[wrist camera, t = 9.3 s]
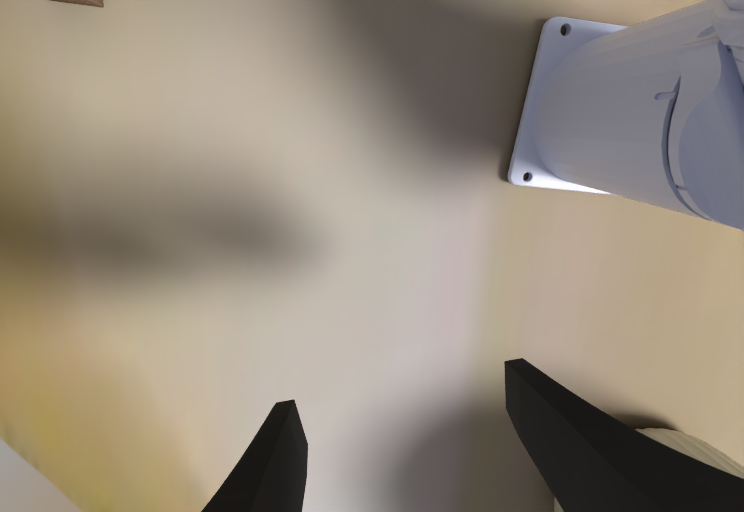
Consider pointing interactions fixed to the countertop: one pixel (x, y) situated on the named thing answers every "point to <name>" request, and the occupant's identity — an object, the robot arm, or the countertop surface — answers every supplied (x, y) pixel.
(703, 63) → the robot arm
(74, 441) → the countertop surface
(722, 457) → the canister
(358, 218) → the countertop surface
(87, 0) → the brown wooden plank
